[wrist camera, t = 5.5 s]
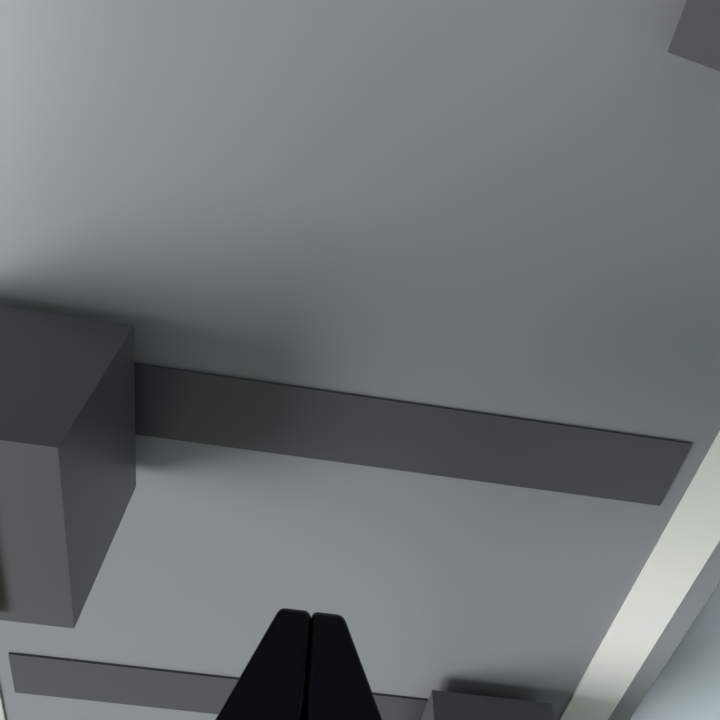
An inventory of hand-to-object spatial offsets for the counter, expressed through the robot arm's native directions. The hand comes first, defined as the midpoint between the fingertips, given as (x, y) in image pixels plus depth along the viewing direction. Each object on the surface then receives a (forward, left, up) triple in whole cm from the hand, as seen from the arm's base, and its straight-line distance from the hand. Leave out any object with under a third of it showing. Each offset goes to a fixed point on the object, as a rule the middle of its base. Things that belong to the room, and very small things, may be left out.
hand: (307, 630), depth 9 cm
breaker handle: (0, +5, -4) cm, 7 cm away
